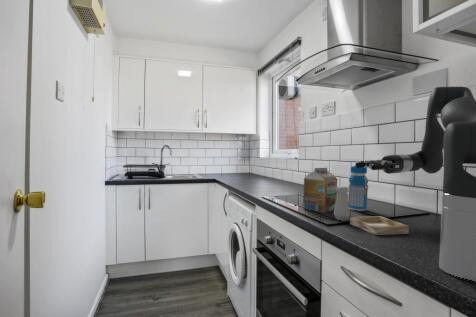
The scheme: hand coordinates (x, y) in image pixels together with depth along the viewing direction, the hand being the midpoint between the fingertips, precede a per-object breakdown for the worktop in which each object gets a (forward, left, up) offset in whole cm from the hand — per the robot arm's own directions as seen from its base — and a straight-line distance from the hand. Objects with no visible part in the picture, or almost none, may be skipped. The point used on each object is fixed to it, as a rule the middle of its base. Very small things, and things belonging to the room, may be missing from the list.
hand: (363, 166), depth 101 cm
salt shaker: (0, +9, -21) cm, 23 cm away
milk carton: (+18, +8, -21) cm, 29 cm away
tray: (-12, +3, -21) cm, 24 cm away
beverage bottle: (+16, -10, -21) cm, 28 cm away
